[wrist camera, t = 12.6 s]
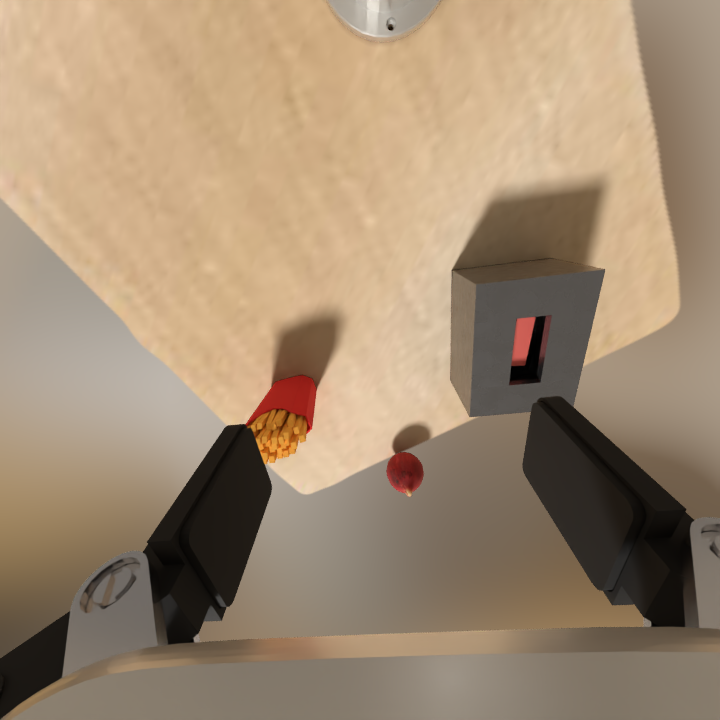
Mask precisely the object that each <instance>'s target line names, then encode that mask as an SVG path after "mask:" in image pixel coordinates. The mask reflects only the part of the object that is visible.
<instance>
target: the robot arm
mask: <svg viewBox="0 0 720 720" xmlns="http://www.w3.org/2000/svg"><path fill="white" fill-rule="evenodd" d="M326 2H327V3H328V5H329V7H330V8H331V10H332V11H333V13H334V15H335V16H336V17H337V18H338V19H339V21H340V22H341V23H342V24H343V25H344V26H345V27H346V28H347V29H349V30H350V31H351V32H353V33H354V34H355V35H357V36H359V37H361V38H364V39H366V40H368V41H374V42H381V43H382V42H391V41H396V40H398V39H401V38H404V37H406V36H408V35H410V34H411V33H413V32H414V31H416V30H417V29H419V28H420V27H421V26H422V25H423V24H424V23H425V22H426V21H427V20H428V19H429V18H430V16H431V15H432V14H433V12H434V11H435V9H436V8H437V7H438V5H439V4H440V2H441V0H326ZM389 27H392V28H393V30H392V31H389V30H388V28H389ZM523 471H524V474H525V476H526V478H527V479H528V481H529V482H530V484H531V486H532V487H533V489H534V491H535V492H536V494H537V495H538V497H539V499H540V500H541V502H542V503H543V505H544V507H545V508H546V510H547V511H548V513H549V515H550V516H551V518H552V519H553V521H554V523H555V524H556V526H557V527H558V529H559V531H560V532H561V534H562V536H563V537H564V539H565V540H566V542H567V544H568V545H569V546H570V548H571V550H572V551H573V553H574V555H575V556H576V558H577V560H578V561H579V563H580V564H581V566H582V568H583V569H584V571H585V572H586V574H587V576H588V577H589V579H590V580H591V582H592V583H593V585H594V586H595V587H596V588H597V589H598V590H602V591H603V592H604V593H605V595H606V596H607V598H608V599H609V601H610V603H611V604H612V605H631V604H635V606H636V607H637V608H638V610H639V611H640V613H641V614H642V615H643V617H644V627H596V628H595V627H594V628H593V627H592V628H561V629H559V628H558V629H525V630H524V629H523V630H492V631H491V630H489V631H459V632H458V631H457V632H430V633H429V632H428V633H400V634H372V635H345V636H344V635H343V636H321V637H320V636H319V637H297V638H296V637H294V638H269V639H246V640H228V641H212V642H200V640H199V635H198V633H199V631H200V629H201V626H202V624H203V621H222V618H223V616H224V613H225V610H226V607H229V606H230V605H231V604H232V603H233V601H234V598H235V595H236V593H237V590H238V587H239V584H240V581H241V578H242V575H243V573H244V570H245V567H246V564H247V561H248V558H249V555H250V552H251V550H252V547H253V544H254V541H255V538H256V535H257V532H258V530H259V527H260V524H261V521H262V518H263V515H264V512H265V509H266V506H267V504H268V501H269V498H270V495H271V490H272V485H271V481H270V478H269V475H268V472H267V470H266V467H265V464H264V461H263V458H262V456H261V453H260V450H259V447H258V444H257V442H256V439H255V436H254V433H253V431H252V429H251V428H247V426H246V425H245V424H239V425H228V426H226V427H225V428H224V430H223V431H222V433H221V434H220V436H219V437H218V439H217V440H216V442H215V443H214V445H213V446H212V448H211V449H210V450H209V452H208V453H207V455H206V456H205V458H204V459H203V461H202V462H201V464H200V465H199V467H198V468H197V469H196V471H195V472H194V474H193V475H192V477H191V478H190V480H189V481H188V483H187V484H186V486H185V487H184V489H183V490H182V491H181V493H180V494H179V496H178V497H177V499H176V500H175V502H174V503H173V505H172V506H171V508H170V509H169V511H168V512H167V514H166V515H165V516H164V518H163V519H162V521H161V522H160V524H159V525H158V527H157V528H156V530H155V531H154V533H153V534H152V536H151V537H150V538H149V540H148V541H147V543H148V545H147V547H146V548H145V550H144V551H143V553H142V552H140V551H130V552H126V553H123V554H121V555H118V556H116V557H114V558H112V559H111V560H109V561H108V562H106V563H105V564H103V565H102V566H101V567H99V568H98V569H97V570H96V571H95V572H94V573H93V574H92V575H90V576H89V578H88V579H87V580H86V581H85V582H84V584H83V585H82V586H81V587H80V589H79V590H78V592H77V594H76V595H75V597H74V599H73V603H72V606H71V609H70V612H68V613H67V614H65V615H64V616H62V617H61V618H59V619H58V620H56V621H55V622H53V623H52V624H50V625H49V626H47V627H46V628H44V629H43V630H42V631H40V632H39V633H37V634H36V635H34V636H33V637H31V638H30V639H29V640H27V641H26V642H24V643H23V644H21V645H20V646H18V647H17V648H15V649H14V650H12V651H11V652H9V653H8V654H6V655H5V656H3V657H2V658H0V720H720V518H712V517H705V518H698V519H696V520H694V519H692V518H691V517H690V516H689V515H688V514H687V513H686V512H685V511H686V508H684V507H683V506H682V505H681V504H680V503H679V502H678V501H677V500H675V498H673V497H672V496H671V495H670V494H669V493H668V492H667V491H666V490H664V489H663V488H662V487H661V486H660V485H659V484H658V483H657V482H656V481H655V480H653V479H652V478H651V477H650V476H649V475H648V474H647V473H646V472H644V470H642V469H641V468H640V467H639V466H638V465H637V464H636V463H635V462H633V461H632V460H631V459H630V458H629V457H628V456H627V455H626V454H625V453H624V452H622V451H621V450H620V449H619V448H618V447H617V446H615V444H614V443H612V442H611V441H610V440H609V439H608V438H607V437H606V436H605V435H604V434H603V433H601V432H600V431H599V430H598V429H597V428H596V427H595V426H594V425H593V424H591V423H590V422H589V421H588V420H587V419H586V418H585V417H584V416H583V415H581V414H580V413H579V412H578V411H577V410H576V409H575V408H574V407H573V406H572V405H570V404H569V403H568V402H567V401H566V400H565V399H564V398H562V397H561V396H552V397H541V398H539V399H538V400H537V402H536V403H533V405H532V408H531V415H530V421H529V427H528V434H527V440H526V446H525V453H524V458H523Z"/></svg>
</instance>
